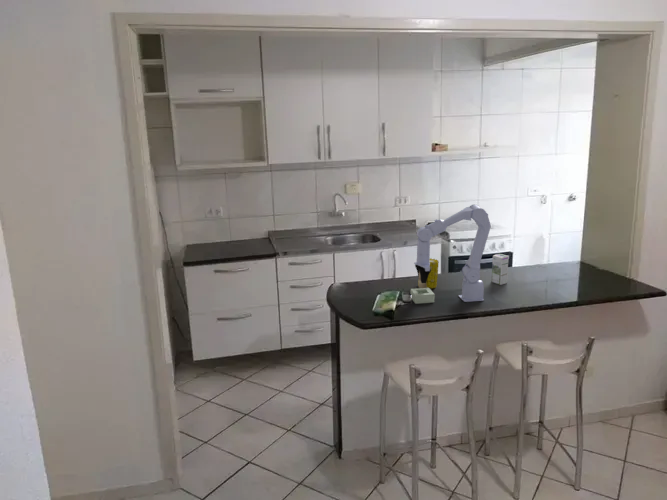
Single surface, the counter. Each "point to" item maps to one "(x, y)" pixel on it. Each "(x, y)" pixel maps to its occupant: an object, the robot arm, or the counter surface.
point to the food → (432, 274)
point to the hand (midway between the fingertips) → (422, 281)
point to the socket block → (422, 295)
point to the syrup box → (499, 269)
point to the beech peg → (421, 285)
